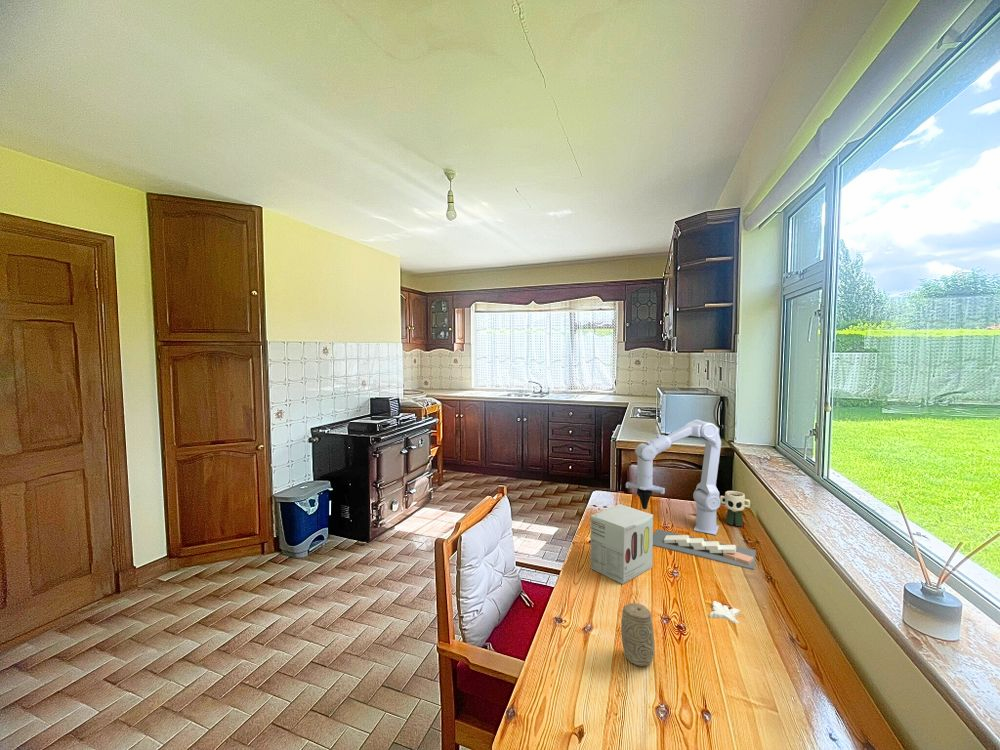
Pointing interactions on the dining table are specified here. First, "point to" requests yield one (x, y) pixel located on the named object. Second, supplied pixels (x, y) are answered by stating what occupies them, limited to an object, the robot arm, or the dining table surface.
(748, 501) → the character mug
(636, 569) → the supplement box
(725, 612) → the acanthus leaf ornament
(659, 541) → the mat
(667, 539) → the tile
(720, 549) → the tile
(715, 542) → the tile
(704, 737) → the dining table surface
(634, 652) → the carving
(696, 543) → the tile
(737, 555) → the tile end
